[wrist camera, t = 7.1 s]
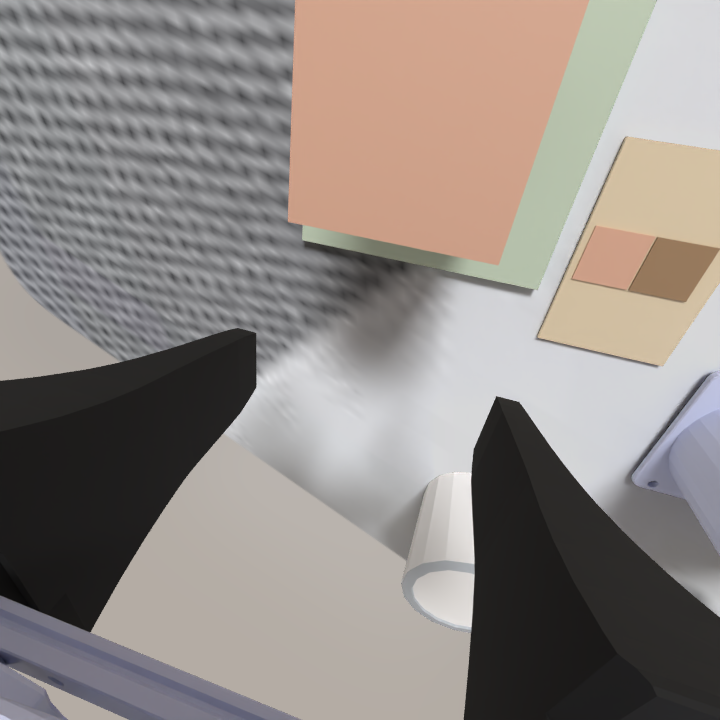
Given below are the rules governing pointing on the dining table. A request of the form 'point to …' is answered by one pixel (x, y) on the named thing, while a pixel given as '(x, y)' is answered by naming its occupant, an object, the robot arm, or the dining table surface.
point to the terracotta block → (423, 116)
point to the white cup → (443, 554)
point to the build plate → (545, 153)
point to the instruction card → (643, 254)
